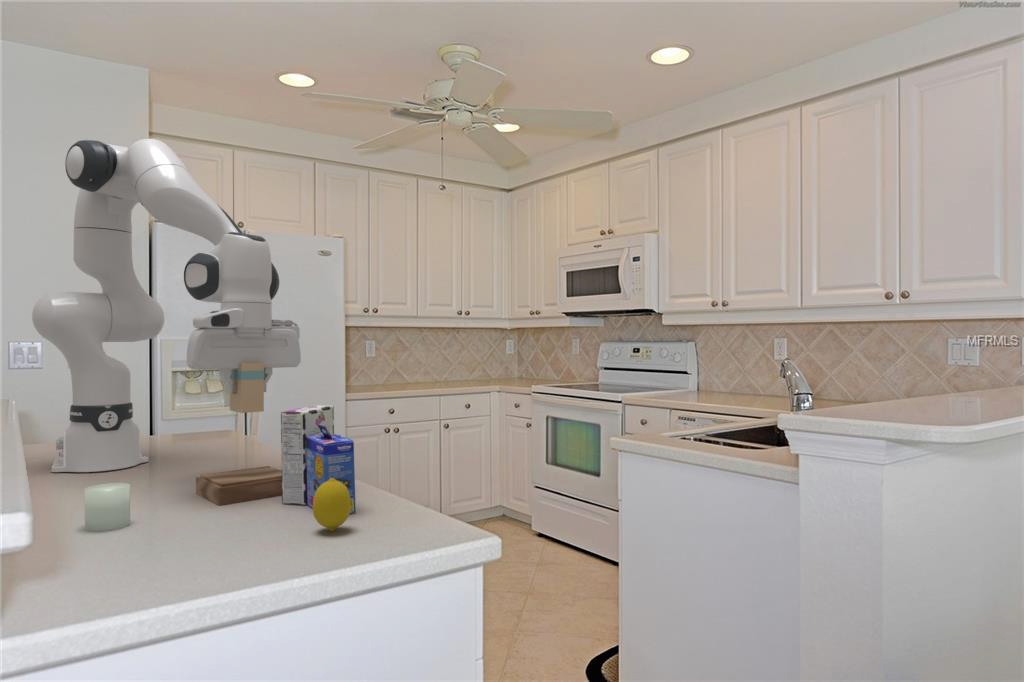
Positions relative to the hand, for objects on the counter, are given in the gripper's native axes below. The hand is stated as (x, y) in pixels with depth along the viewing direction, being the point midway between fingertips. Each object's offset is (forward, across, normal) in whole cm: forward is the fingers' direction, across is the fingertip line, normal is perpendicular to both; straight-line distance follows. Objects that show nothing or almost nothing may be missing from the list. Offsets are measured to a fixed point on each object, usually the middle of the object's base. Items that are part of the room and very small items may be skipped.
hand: (246, 393), depth 123 cm
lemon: (+19, 0, +33) cm, 38 cm away
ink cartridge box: (+19, -6, +21) cm, 29 cm away
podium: (+19, 0, 0) cm, 19 cm away
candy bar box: (+19, -7, +11) cm, 23 cm away
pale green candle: (+19, +24, +7) cm, 31 cm away
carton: (+3, 0, 0) cm, 3 cm away
